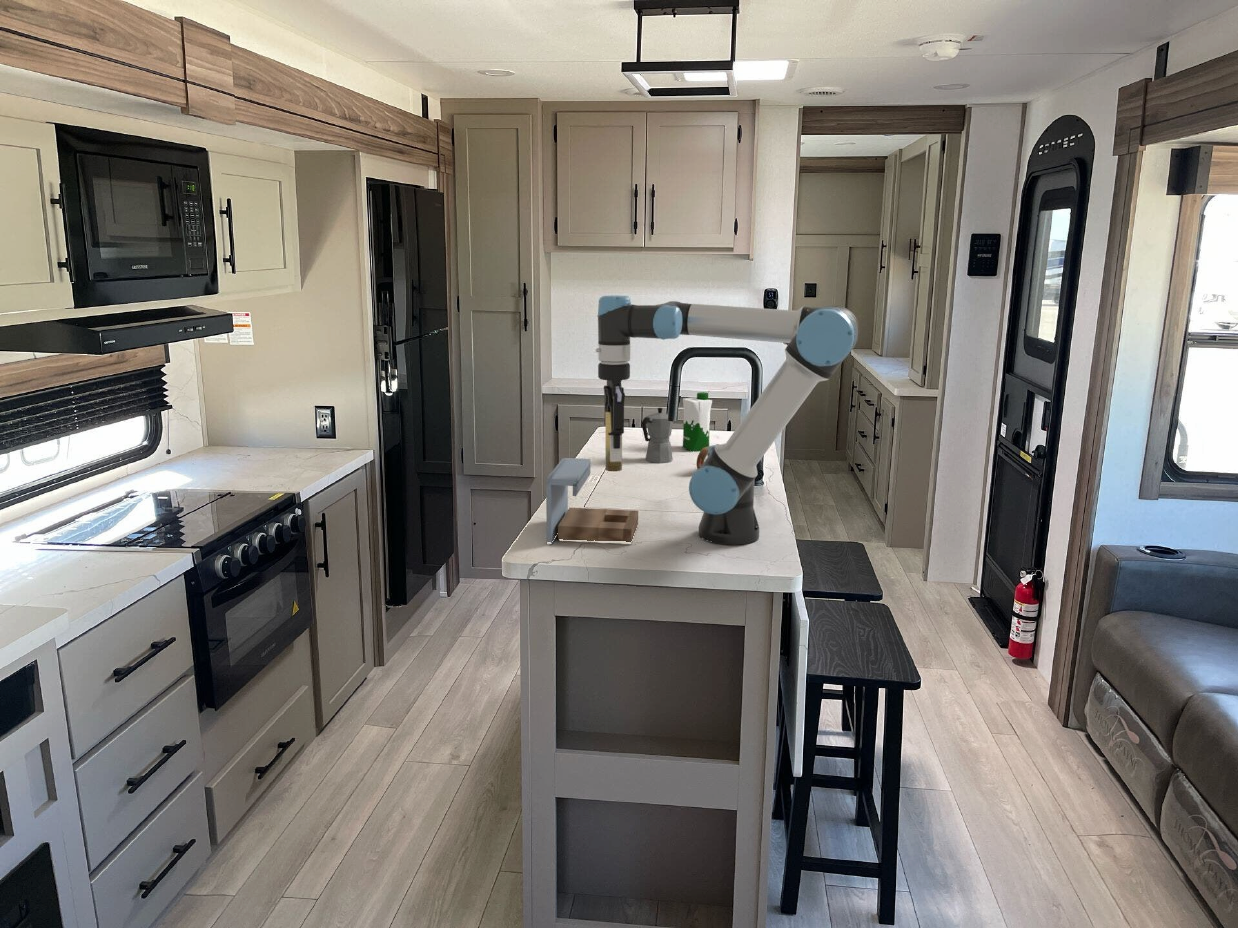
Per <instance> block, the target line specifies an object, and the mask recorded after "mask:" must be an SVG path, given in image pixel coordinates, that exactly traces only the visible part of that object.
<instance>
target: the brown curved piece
mask: <svg viewBox="0 0 1238 928" xmlns="http://www.w3.org/2000/svg"><path fill="white" fill-rule="evenodd" d="M719 444H720V443H717V444H715V445H719ZM710 446H711V445H709V446H708V447H705V448H703V449H702V450H701V451H699V453H698V455H697V459H696V470H698V469H699V468H700V467H701V466H702V465H703V463H704V462H705V460H706V459H707V458H708V456H707V454H708V450H709V447H710Z"/></svg>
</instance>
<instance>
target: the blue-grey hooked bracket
mask: <svg viewBox="0 0 1238 928" xmlns="http://www.w3.org/2000/svg"><path fill="white" fill-rule="evenodd" d="M590 475H591V458H577V457H576V458H571V457H563V458H562V459H561V460H560V461H559V462H558V464H557V465H556V466H555V468H553V470H552V471H551V472H550V473H549V474H548V476H547V477H546V478H545V491H546V492H545V494H546V495H545V497H546V499H545V500H546V502H545V504H546V506H545V507H546V508H545V510H546V512H545V513H546V517H545V518H546V519H545V520H546V543H547V542H551V543H552V541H553V540H554V538H555V536H556V535H557V533H558V525H559V523H560V522H561V520H562V519H563V517H564V515H565V514H566V512H567V511H568V509H569V493H568V492H569V487H572V497H577V496H578V494H579V492H580V491H581V489H582V488H583V486H584V484H585V483H586V481H587V480H588V478H589V477H590ZM554 541H555V540H554Z"/></svg>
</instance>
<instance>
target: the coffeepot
mask: <svg viewBox="0 0 1238 928" xmlns="http://www.w3.org/2000/svg"><path fill="white" fill-rule="evenodd" d="M668 414H669V413H668ZM668 414H667V413H663V407H657V413H652V414H648V415H646V416H645V417H644V418H643V419H642V421H641V429H642V432H643V436H644V440H645V442H648V444H647V449H646V454H645V460H646V462H648V463H652V464H653V463H654V464H667V463H671V462H672V461H673V459H674V458H673V452H672V451H673V450H672V444H671V441H670V437H671V435H672V430H673V425H674V421H673V422H669V421H668Z"/></svg>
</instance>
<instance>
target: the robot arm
mask: <svg viewBox="0 0 1238 928" xmlns="http://www.w3.org/2000/svg"><path fill="white" fill-rule="evenodd" d="M860 328H861V327H860V324H859V321H858V319H857V317H856V316H855V314H854V313H853V312H852V311H851V310H850V309H848V308H846V307H843V306H840V305H828V306H817V307H815V306H813V307H812V306H801V307H800V308H799V309H797V310H791V309H775V308H763V307H762V308H760V307H745V306H733V305H731V306H729V305H718V304H717V305H716V304H703V303H702V304H700V303H687V302H686V303H684V302H680V301H678V300H677V301H676V300H674V301H668V302H664V303H659V304H652V305H651V304H650V305H649V304H648V305H647V304H642V305H641V304H640V305H639V304H632V302H631V297H630V296H629V295H612V294H611V295H603V296H601V297H600V298H598V308H597V330H598V331H597V335H598V336H597V337H598V341H597V344H598V347H597V348H595V352H596V353H598V355H597V356H598V357H597V359H598V361H599V363H598V364H597V371H598V372H597V374H598V375H597V377H598V379H600V380H603V381H606V385H603V394H604V395H603V396H604V397H603V398H604V406H603V407H604V427H606V412H607V411H610V414H611V433H608V435H610V462H618V461H622V462H623V434H625V430H624V429H625V397H626V394H625V387H623V386H622V381H627V380H629V379H630V377H631V364H630V363H629V362H630V361H631V338H634V339H636V338H640V339H641V338H643V339H659V340H668V339H669V340H672V339H673V340H675V339H677V338H679V337H680V335H682V336H683V335H684V336H699V337H710V338H719V339H720V338H722V339H734V340H735V339H736V340H746V341H757V342H758V341H759V342H767V343H768V342H770V343H783V344H788V345H787V346H786V347H785V348H784V352H785V361H784V362H783V364H781V366H780V367H779V369H778V370H777V371H776V373H775V375H774V376H773V377H772V379H771V380H770V382H768V383H767V385H766V387H765V388H764V390H763V391H762V392H761V394H760V395H759V396H758V398H757V399H756V401H755V402H754V403H753V405H752V406H751V407H750V409H749V411H748V412H747V413H746V415H745V416H744V417H743V419H742V420H741V422H740V423H739V424H738V426H737V427H736V429H735V430H734V431H733V433H732V434H731V436H729V439H728V440H727V441H726V442H725V443H718V444H719V445H716V444H713V445H709V446H710V447H709V450H708V454H707V456H708V458H707V459H706V460H705V462H704V463H703V465H702V466H701V467H700V468H699V469H698V470H697V469H696V470H695V471H694V473H692V475H691V478H690V480H689V485H688V491H689V492H688V493H689V496H690V499H691V501H692V503H693V504H694V505H695V506H696V507H697V508H698V509H699V510H700V511H702V512H703V513H702V516H701V519H700V522H699V525H698V536H699V538H701V539H702V538H703V539H702V540H704V541H706V540H708V541H707V542H709V541H712V542H711V543H713V542H714V544H718V543H721V544H720V545H731V546H735V545H746V544H750V543H751V544H752V543H755V542H757V540H759V538H760V525H759V522H758V519H757V515H756V512H755V509H754V508H755V507H754V503H755V501H754V498H755V482H756V481H755V479H756V478H757V476H758V468H757V465H758V464H759V462H761V460H762V458H763V457H764V456H765V454H766V453H767V452H768V450H769V449H770V448H771V446H772V445H773V444H774V443H775V441H776V439H777V438H778V437H779V436H780V434H781V433H782V432H783V430H784V429H785V427H786V426H787V425H788V423H789V422H790V421H791V419H792V418H793V417H794V416H795V414H796V413H797V411H798V410H799V408H800V407H802V404H803V403H804V402H805V401H806V399H807V398H808V396H810V394H811V393H812V391H813V390H814V388H815V387H816V386H817V384H818V383H820V382H824V381H828V380H830V378H831V377H832V376H833V375H834V373H835V372H836V371H837V369H838V368H839V366H840V365H841V364H842V363H843V361H844V360H845V359H846V358H847V357H848V356H849V355H850V353H851V351H852V350H853V349H854V348H855V347H856V345H857V344H858V341H859V339H860V334H861V332H860V331H861V329H860Z"/></svg>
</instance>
